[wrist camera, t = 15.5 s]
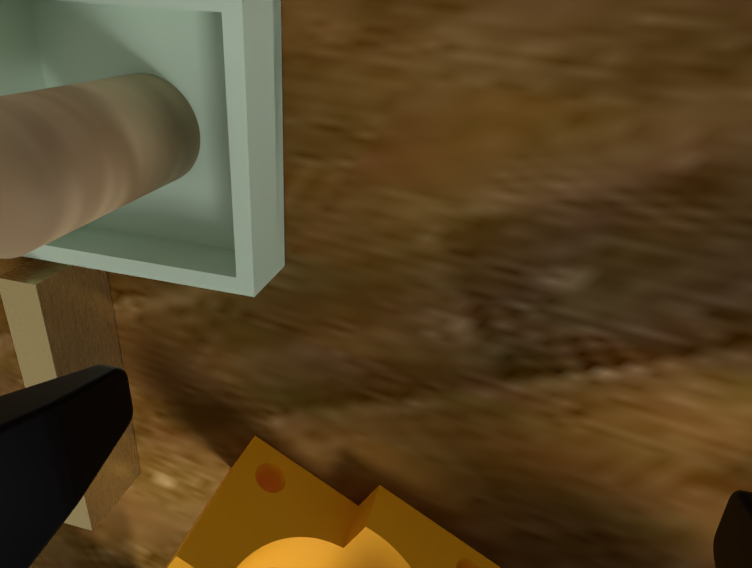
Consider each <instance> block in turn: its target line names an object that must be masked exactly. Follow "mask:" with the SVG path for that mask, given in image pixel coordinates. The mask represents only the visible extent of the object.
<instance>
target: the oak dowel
mask: <svg viewBox="0 0 752 568" xmlns="http://www.w3.org/2000/svg"><path fill="white" fill-rule="evenodd" d="M199 150H200V130H199V125H198V121H197V118H196V116H195V113H194V111H193V109H192V107H191V105H190V104H189V102H188V101H187V99H186V98H185V97H184V95H183V94H182V93H181V92H180V91H179V90H178V89H177V88H176V87H175V86H173V85H172V84H171V83H169V82H168V81H166V80H164V79H162V78H160V77H158V76H155V75H152V74H146V73H135V74H129V75H123V76H117V77H111V78H105V79H99V80H93V81H88V82H82V83H76V84H70V85H64V86H58V87H52V88H46V89H40V90H34V91H28V92H22V93H16V94H10V95H4V96H0V258H4V259H7V258H16V257H20V256H22V255H25V254H27V253H29V252H31V251H33V250H35V249H37V248H39V247H41V246H43V245H45V244H47V243H49V242H51V241H53V240H55V239H57V238H59V237H61V236H63V235H66V234H68V233H70V232H72V231H74V230H76V229H78V228H80V227H82V226H84V225H86V224H88V223H90V222H92V221H94V220H96V219H98V218H100V217H102V216H104V215H106V214H108V213H110V212H112V211H114V210H116V209H118V208H120V207H122V206H124V205H126V204H128V203H130V202H132V201H134V200H136V199H138V198H140V197H142V196H145V195H147V194H149V193H151V192H153V191H155V190H157V189H159V188H161V187H163V186H165V185H167V184H169V183H171V182H173V181H175V180H177V179H179V178H181V177H182V176H184V175H185V174H186V173H188V172H189V171H190V169H191V168H192V167H193V165H194V164H195V162H196V160H197V157H198V154H199Z"/></svg>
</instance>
